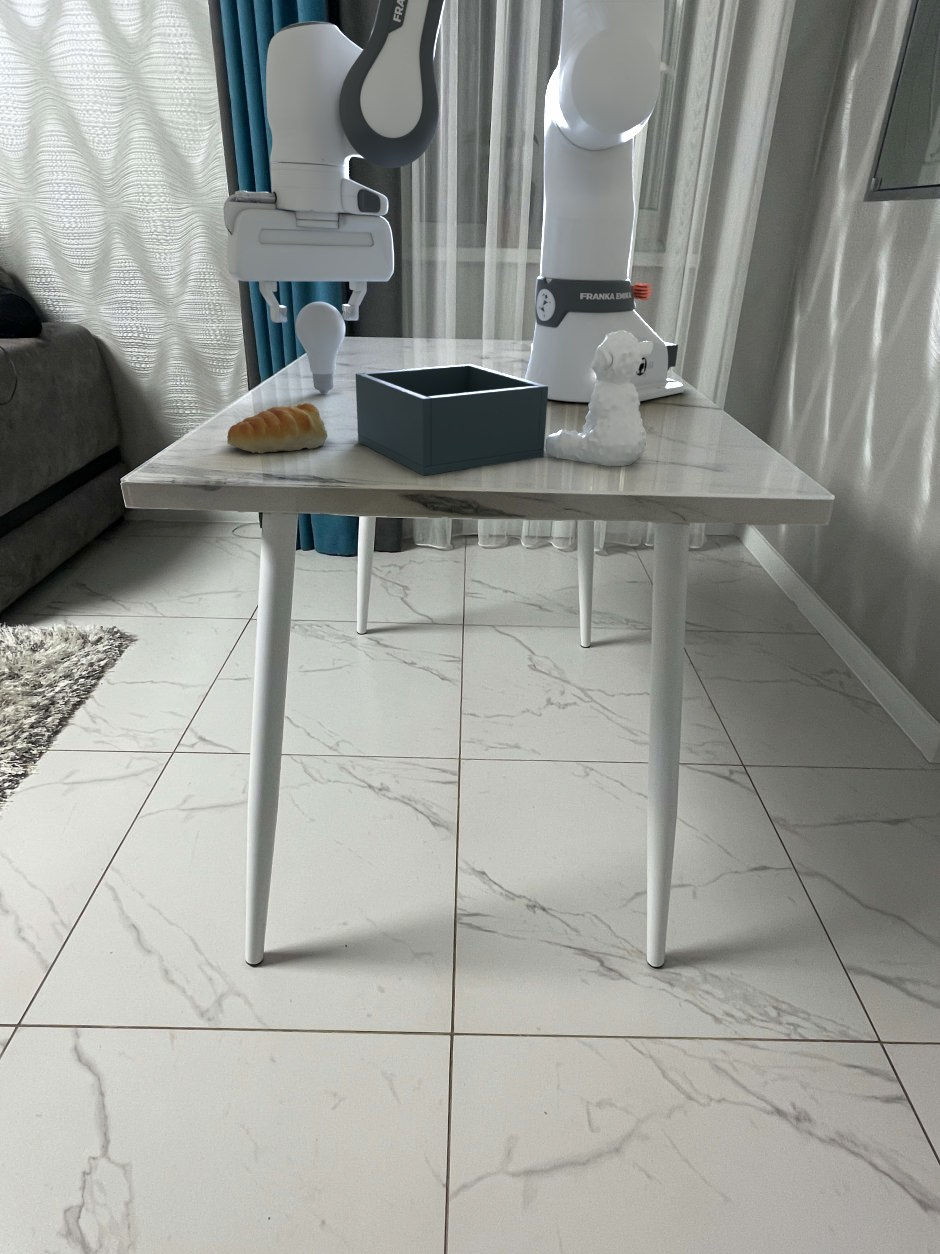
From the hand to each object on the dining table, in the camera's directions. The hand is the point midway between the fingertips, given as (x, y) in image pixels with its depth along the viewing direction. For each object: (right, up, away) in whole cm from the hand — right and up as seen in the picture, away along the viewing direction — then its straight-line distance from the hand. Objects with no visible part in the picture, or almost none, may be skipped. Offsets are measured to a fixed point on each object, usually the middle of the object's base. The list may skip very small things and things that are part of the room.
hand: (315, 321), depth 100 cm
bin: (+17, -20, -19) cm, 32 cm away
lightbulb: (0, -8, +4) cm, 9 cm away
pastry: (0, -20, -19) cm, 28 cm away
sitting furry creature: (+32, -21, -21) cm, 44 cm away
